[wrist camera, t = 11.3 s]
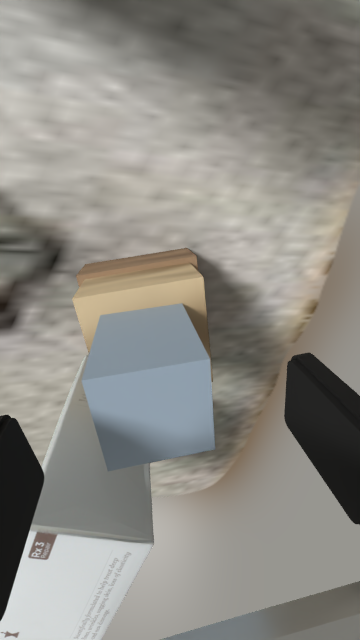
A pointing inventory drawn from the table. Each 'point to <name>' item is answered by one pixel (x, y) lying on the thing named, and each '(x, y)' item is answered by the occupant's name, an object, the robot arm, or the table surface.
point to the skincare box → (80, 536)
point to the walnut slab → (137, 264)
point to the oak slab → (143, 297)
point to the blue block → (149, 387)
